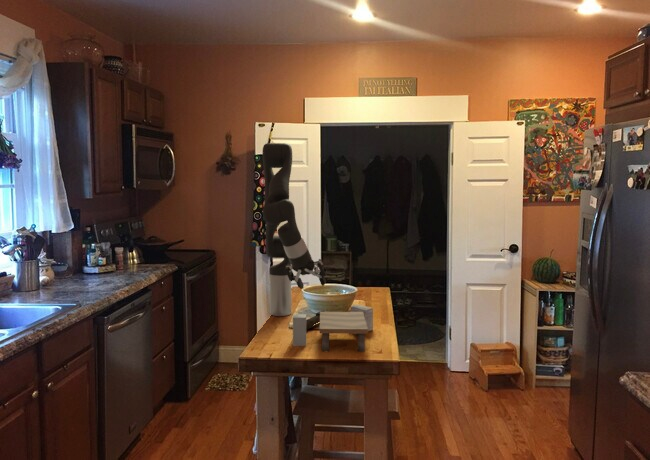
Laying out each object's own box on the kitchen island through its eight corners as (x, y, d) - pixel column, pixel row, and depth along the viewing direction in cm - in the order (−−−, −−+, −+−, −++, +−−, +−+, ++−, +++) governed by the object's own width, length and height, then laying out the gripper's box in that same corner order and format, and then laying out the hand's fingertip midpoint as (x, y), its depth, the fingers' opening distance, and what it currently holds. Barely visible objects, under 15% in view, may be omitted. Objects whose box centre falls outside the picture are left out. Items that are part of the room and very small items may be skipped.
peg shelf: (320, 332, 196) (320, 311, 195) (362, 332, 196) (363, 311, 195) (319, 352, 174) (319, 328, 173) (367, 352, 174) (367, 329, 173)
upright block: (293, 341, 185) (293, 314, 184) (306, 341, 185) (306, 314, 184) (292, 345, 181) (292, 317, 180) (305, 345, 181) (305, 317, 180)
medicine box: (373, 330, 200) (373, 307, 199) (365, 332, 196) (365, 310, 196) (358, 325, 205) (358, 304, 204) (350, 328, 202) (350, 306, 201)
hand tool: (304, 333, 195) (305, 321, 195) (296, 331, 197) (296, 319, 197) (331, 322, 211) (331, 310, 211) (323, 320, 213) (323, 309, 213)
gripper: (317, 241, 183) (333, 276, 191) (281, 247, 188) (297, 281, 196) (313, 254, 177) (329, 290, 185) (275, 260, 182) (292, 295, 190)
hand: (312, 285), depth 190 cm, fingers open, 8 cm apart
